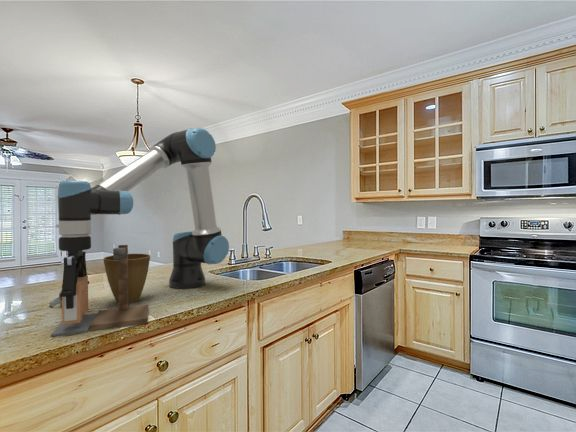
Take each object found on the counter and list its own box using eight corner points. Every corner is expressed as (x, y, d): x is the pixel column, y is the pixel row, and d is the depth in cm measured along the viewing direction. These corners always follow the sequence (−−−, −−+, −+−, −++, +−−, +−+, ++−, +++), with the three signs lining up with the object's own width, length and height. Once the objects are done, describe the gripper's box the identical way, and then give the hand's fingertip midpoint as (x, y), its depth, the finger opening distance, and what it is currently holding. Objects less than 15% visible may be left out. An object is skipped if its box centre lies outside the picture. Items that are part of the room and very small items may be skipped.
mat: (97, 314, 96) (97, 312, 96) (87, 332, 82) (87, 329, 82) (66, 318, 93) (66, 316, 93) (50, 336, 79) (50, 334, 79)
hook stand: (148, 309, 101) (147, 242, 101) (147, 324, 88) (146, 247, 87) (98, 315, 96) (98, 244, 95) (89, 332, 82) (88, 250, 82)
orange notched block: (72, 312, 92) (72, 276, 92) (88, 310, 93) (87, 275, 93) (62, 324, 82) (61, 284, 81) (80, 322, 83) (79, 283, 83)
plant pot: (97, 301, 110) (96, 256, 110) (139, 293, 122) (139, 252, 122) (114, 309, 101) (113, 260, 101) (158, 299, 112) (157, 255, 112)
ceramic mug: (87, 298, 114) (86, 278, 114) (86, 304, 107) (85, 282, 107) (50, 303, 108) (50, 282, 108) (47, 310, 101) (46, 286, 101)
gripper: (69, 233, 96) (70, 303, 97) (45, 239, 75) (46, 329, 75) (97, 232, 99) (98, 300, 100) (81, 238, 78) (82, 325, 78)
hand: (76, 313), depth 87 cm, fingers closed on orange notched block, 11 cm apart
